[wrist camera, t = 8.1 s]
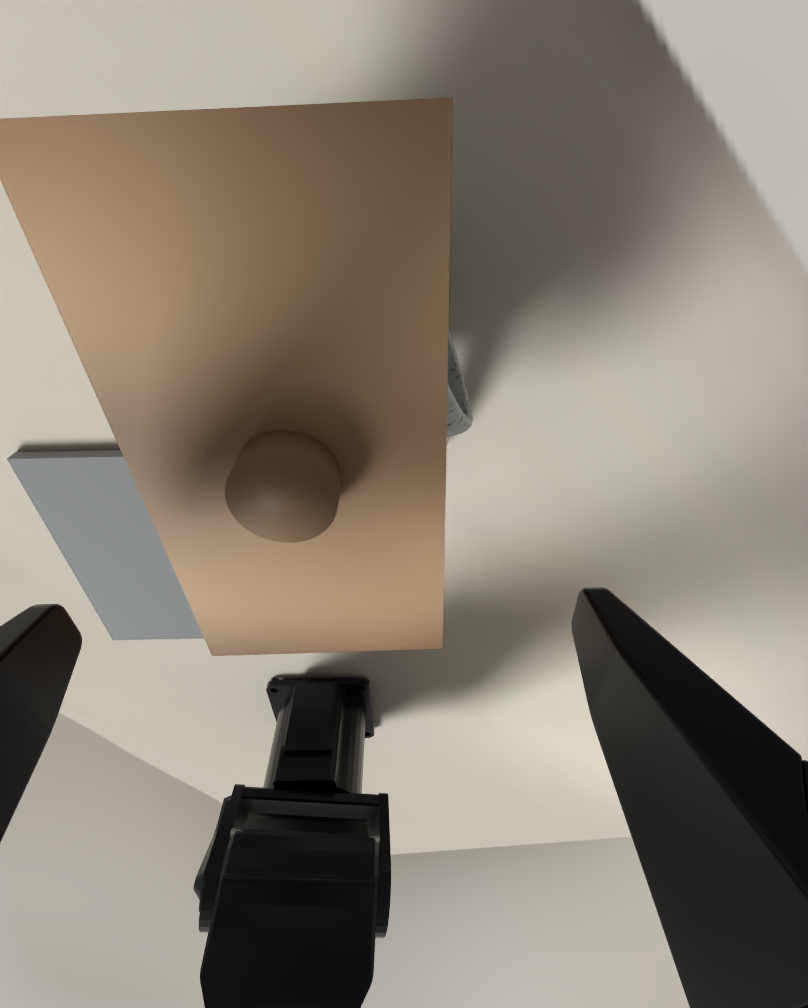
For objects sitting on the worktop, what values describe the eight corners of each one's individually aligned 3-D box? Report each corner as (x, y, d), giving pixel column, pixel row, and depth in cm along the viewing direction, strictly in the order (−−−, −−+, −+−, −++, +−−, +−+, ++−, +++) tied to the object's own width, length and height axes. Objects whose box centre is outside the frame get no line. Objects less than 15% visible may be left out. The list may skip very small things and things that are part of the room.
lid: (435, 567, 15) (445, 675, 12) (241, 573, 15) (202, 683, 12) (436, 107, 8) (458, 93, 5) (92, 123, 9) (-74, 118, 6)
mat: (325, 627, 28) (324, 635, 28) (117, 631, 28) (112, 640, 28) (293, 446, 21) (291, 453, 21) (15, 451, 21) (7, 459, 21)
